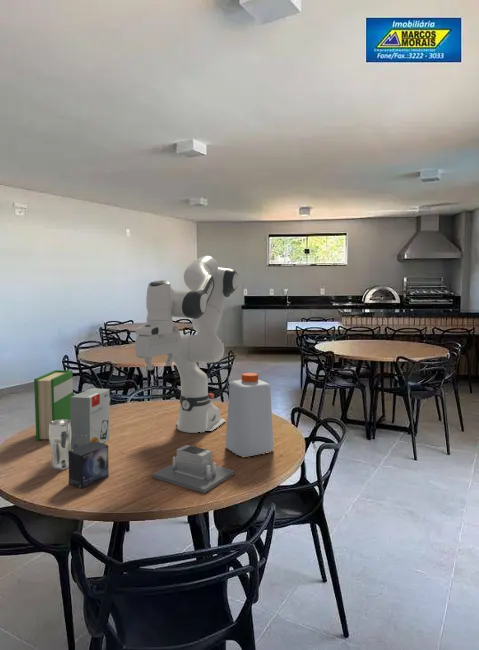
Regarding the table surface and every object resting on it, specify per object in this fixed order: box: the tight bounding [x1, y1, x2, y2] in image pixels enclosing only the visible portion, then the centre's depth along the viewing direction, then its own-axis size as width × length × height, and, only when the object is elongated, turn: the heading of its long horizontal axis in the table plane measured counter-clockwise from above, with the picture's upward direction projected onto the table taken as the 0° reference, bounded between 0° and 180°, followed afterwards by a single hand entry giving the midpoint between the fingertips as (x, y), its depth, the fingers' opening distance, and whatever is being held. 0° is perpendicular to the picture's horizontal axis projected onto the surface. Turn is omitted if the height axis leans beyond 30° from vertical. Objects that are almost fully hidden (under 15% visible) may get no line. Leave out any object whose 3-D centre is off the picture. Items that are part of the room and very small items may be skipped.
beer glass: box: [48, 419, 72, 471], centre depth 149 cm, size 7×7×15 cm
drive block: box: [176, 444, 213, 478], centre depth 143 cm, size 5×10×7 cm, turn 58°
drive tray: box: [152, 455, 236, 494], centre depth 143 cm, size 16×20×5 cm
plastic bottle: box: [225, 372, 274, 458], centre depth 165 cm, size 15×15×28 cm
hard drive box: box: [70, 387, 111, 450], centre depth 169 cm, size 16×8×20 cm, turn 168°
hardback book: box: [33, 369, 74, 442], centre depth 182 cm, size 18×7×24 cm, turn 178°
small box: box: [68, 441, 110, 489], centre depth 139 cm, size 11×6×10 cm, turn 148°
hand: (159, 367), depth 159 cm, fingers open, 8 cm apart
